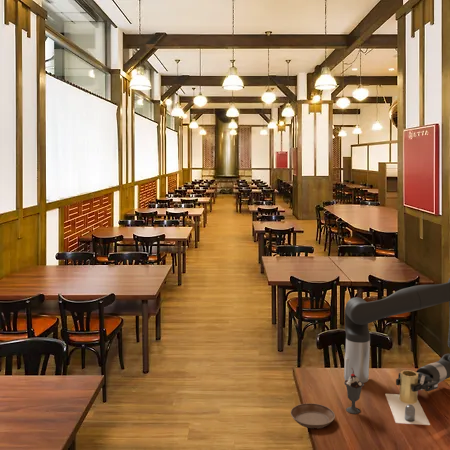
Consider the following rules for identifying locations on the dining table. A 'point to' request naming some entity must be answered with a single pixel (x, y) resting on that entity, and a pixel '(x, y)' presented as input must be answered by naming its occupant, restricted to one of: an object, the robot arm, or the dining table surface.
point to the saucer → (312, 415)
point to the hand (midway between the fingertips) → (404, 385)
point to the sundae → (353, 392)
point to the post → (410, 413)
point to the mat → (399, 410)
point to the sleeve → (408, 386)
